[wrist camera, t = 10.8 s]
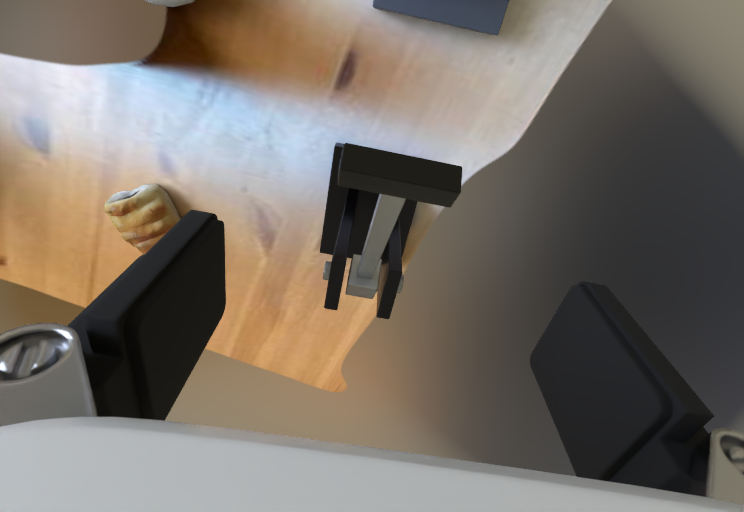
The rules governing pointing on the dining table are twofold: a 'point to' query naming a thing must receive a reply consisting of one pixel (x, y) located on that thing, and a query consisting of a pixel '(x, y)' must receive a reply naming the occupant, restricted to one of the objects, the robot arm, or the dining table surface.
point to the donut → (170, 2)
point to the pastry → (142, 215)
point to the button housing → (452, 12)
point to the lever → (390, 200)
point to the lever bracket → (360, 239)
